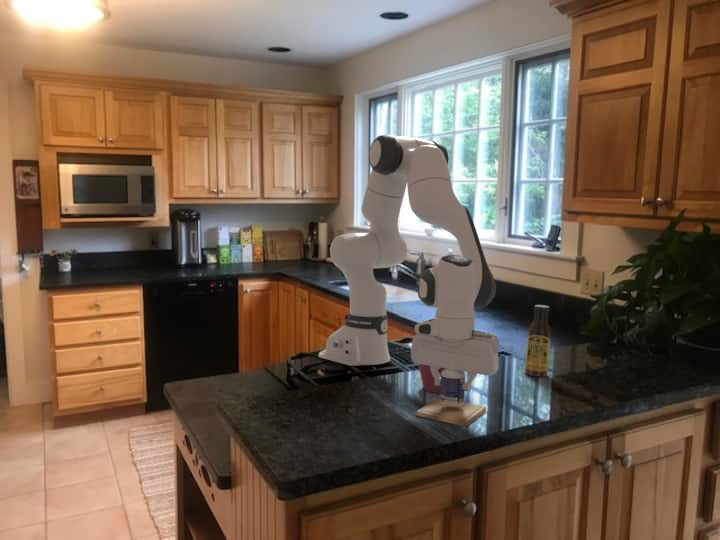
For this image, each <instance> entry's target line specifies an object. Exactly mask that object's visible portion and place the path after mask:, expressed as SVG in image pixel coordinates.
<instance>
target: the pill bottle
mask: <svg viewBox="0 0 720 540" xmlns="http://www.w3.org/2000/svg"><path fill="white" fill-rule="evenodd" d="M446 368H447V369H446ZM446 368H445V369H444V370H443V371H442V372H441V393H440V398H441V403H442V404H444V405H447V406H461V405H463V404H464V403H465V393H466V391H463V390H462V388H463V386H462V384H463V383H464V382H465V381H466V372H464V371H458V370H455V368H454V364H453V363H447V366H446Z"/></svg>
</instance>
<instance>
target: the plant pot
mask: <svg viewBox="0 0 720 540" xmlns="http://www.w3.org/2000/svg"><path fill="white" fill-rule="evenodd" d="M418 367H419V372H420V377H421V382H422V388H423V390H425V391H427V392H430V393H434V394H441V386H436V385H435V378H434V376H433V374H432V372H431V370H430V369H431V366H429V365H423V364H418ZM444 369H445V368H440V369H439V370H438V372H439V374H440V376H441V372H442V371H443V370H444Z"/></svg>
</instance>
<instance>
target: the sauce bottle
mask: <svg viewBox="0 0 720 540" xmlns="http://www.w3.org/2000/svg"><path fill="white" fill-rule="evenodd" d="M533 308H534V309H533V311H534V316H533V321H532V323H530V325H529V327H528V336H527V344H526V354H525V366H524V367H525V370H524V372H525V374H526V375H529V376H531V377H539V378H540V377H541V378H544V377H546V376H547V375H548V371H549V361H550V360H549V359H550V351H551V350H550V349H551V335H552V328H551V327H550V324H549V313H550V306H548V305H544V304H535V305H534V307H533Z"/></svg>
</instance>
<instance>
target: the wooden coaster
mask: <svg viewBox="0 0 720 540" xmlns="http://www.w3.org/2000/svg"><path fill="white" fill-rule="evenodd" d="M485 412H487V406H484V405H479V404H475V403H474V404H473V403H468V402H464V404H463V405H461V406H447V405H444V404H442V403H441V397H437V398H436V399H434V400H432V401H431V402H429V403H427V404H426V405H424V406H422V407H421V408H419V409H417V410H416V412H415V415H416V416H418V417H422V418H426V419H430V420H435V421H439V422H445V423H449V424H452V425H458V426H462V427H467V426H469V425H470V424H471V423H473V422H474V421H475V420H476V419H478V418H479V417H481V416H482V415H483V414H485Z"/></svg>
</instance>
